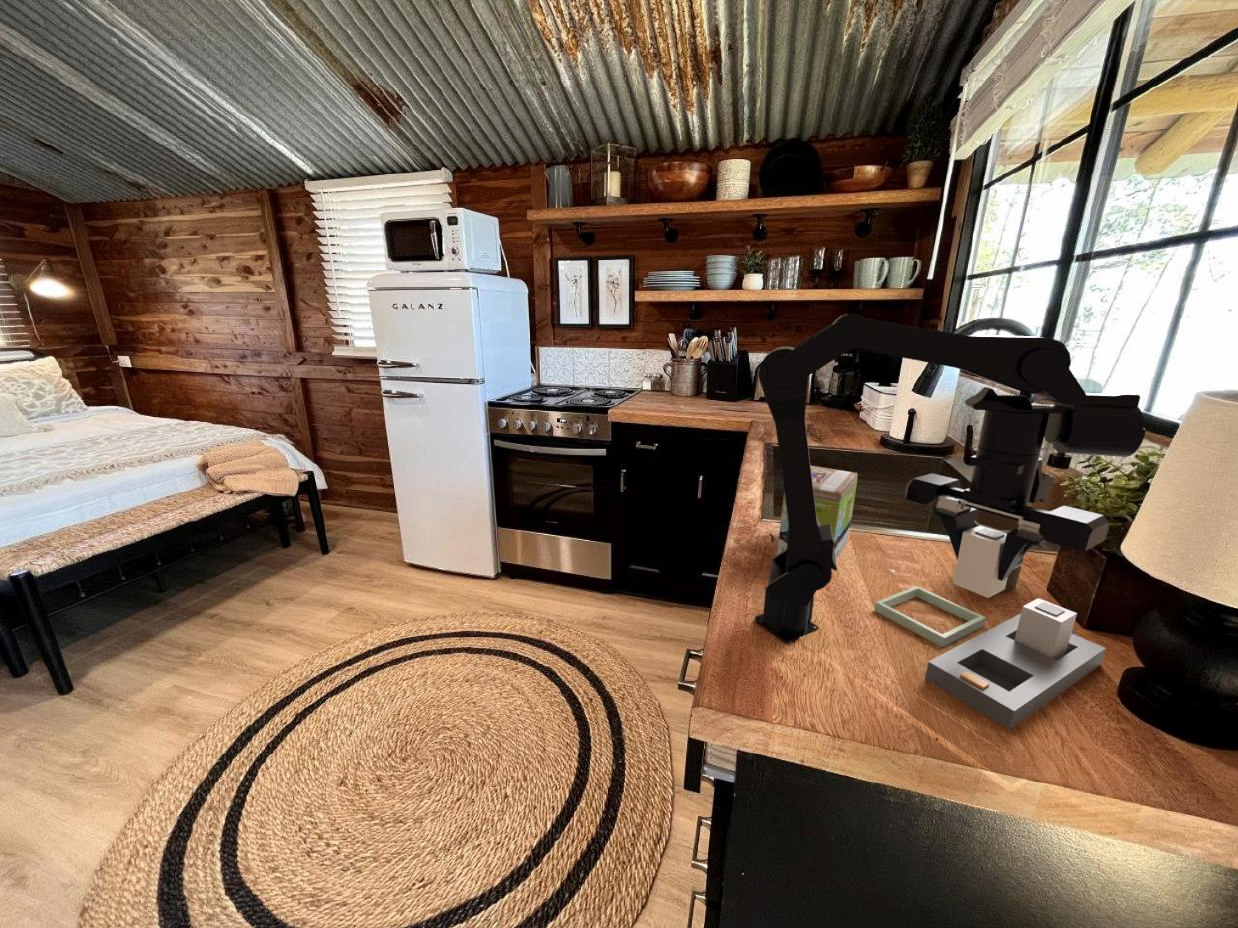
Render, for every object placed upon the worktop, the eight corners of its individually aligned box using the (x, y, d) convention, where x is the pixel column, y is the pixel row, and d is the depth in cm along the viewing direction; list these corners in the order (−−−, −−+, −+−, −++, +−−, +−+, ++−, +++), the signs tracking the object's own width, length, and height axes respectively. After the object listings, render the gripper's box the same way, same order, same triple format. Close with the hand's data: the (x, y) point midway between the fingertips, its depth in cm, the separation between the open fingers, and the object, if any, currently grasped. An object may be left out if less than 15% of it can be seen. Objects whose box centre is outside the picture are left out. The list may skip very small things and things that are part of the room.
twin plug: (1047, 671, 61) (1062, 620, 59) (1011, 653, 65) (1023, 604, 63) (1063, 661, 63) (1077, 611, 61) (1026, 644, 67) (1038, 596, 65)
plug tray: (941, 651, 66) (944, 637, 66) (873, 613, 75) (875, 602, 74) (982, 629, 71) (985, 617, 70) (914, 596, 79) (916, 585, 79)
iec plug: (988, 598, 59) (1000, 542, 57) (952, 583, 63) (963, 530, 61) (1004, 589, 61) (1017, 535, 59) (969, 575, 65) (980, 523, 63)
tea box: (831, 571, 88) (841, 492, 84) (775, 556, 93) (782, 481, 89) (849, 541, 99) (859, 470, 95) (798, 530, 105) (805, 462, 101)
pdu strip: (1008, 734, 53) (1014, 708, 52) (924, 682, 61) (928, 659, 60) (1109, 660, 64) (1116, 638, 63) (1028, 625, 72) (1033, 604, 71)
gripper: (1145, 457, 53) (1107, 588, 57) (958, 427, 69) (939, 531, 73) (1104, 473, 48) (1065, 616, 52) (911, 437, 63) (893, 549, 68)
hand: (981, 571), depth 61 cm, fingers closed on iec plug, 4 cm apart
